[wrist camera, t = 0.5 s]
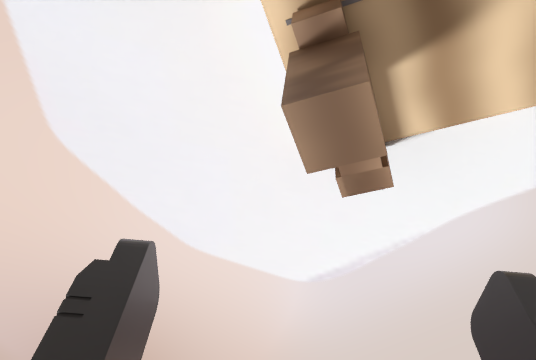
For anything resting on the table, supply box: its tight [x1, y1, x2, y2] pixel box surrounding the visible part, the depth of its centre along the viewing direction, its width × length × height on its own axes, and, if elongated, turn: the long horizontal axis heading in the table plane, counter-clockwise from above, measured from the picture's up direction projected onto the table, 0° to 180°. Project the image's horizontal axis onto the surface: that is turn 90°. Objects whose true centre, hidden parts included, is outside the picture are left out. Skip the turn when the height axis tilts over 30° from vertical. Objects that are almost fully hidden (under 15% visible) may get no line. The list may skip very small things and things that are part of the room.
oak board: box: [261, 0, 536, 142], centre depth 26 cm, size 20×14×3 cm
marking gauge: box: [281, 0, 394, 198], centre depth 26 cm, size 4×13×11 cm, turn 20°
